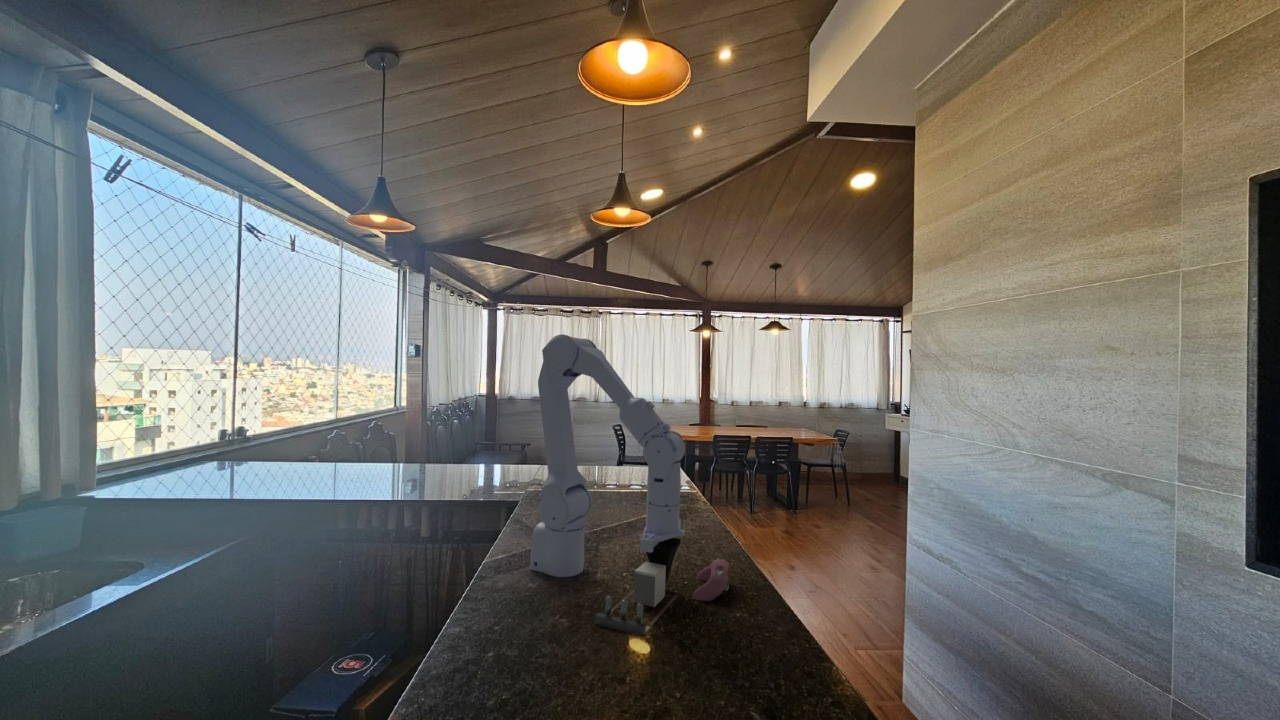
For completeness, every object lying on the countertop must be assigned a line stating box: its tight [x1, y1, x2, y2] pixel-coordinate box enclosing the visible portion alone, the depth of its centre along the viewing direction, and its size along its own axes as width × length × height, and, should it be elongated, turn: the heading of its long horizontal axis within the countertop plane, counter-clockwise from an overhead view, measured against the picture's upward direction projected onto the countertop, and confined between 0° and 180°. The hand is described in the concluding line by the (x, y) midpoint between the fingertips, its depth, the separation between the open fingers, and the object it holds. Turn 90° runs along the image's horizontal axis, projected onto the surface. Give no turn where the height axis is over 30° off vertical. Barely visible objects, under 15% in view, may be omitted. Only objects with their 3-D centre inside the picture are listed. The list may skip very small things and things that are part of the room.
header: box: [594, 594, 647, 637], centre depth 73 cm, size 8×2×4 cm, turn 66°
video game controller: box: [691, 557, 730, 602], centre depth 87 cm, size 10×5×7 cm, turn 169°
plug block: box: [633, 561, 666, 608], centre depth 82 cm, size 4×5×5 cm
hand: (660, 582), depth 86 cm, fingers closed
